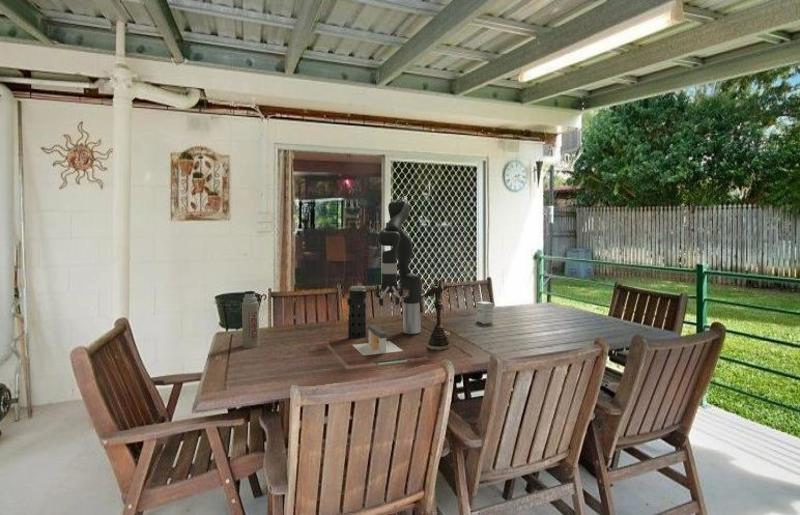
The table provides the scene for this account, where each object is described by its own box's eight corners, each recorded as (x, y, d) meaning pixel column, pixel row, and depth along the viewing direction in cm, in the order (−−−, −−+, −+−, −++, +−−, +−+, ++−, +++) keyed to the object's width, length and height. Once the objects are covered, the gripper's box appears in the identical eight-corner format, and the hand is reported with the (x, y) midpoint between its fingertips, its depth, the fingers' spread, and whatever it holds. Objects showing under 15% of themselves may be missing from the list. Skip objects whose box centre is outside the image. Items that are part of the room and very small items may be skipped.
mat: (399, 356, 217) (399, 354, 217) (407, 362, 208) (407, 360, 208) (371, 359, 212) (371, 357, 212) (378, 365, 203) (378, 363, 203)
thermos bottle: (260, 346, 233) (259, 291, 231) (244, 348, 229) (242, 293, 227) (257, 342, 240) (256, 289, 238) (241, 344, 236) (240, 290, 234)
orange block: (379, 346, 229) (379, 332, 228) (385, 350, 222) (385, 335, 221) (371, 347, 227) (371, 333, 226) (376, 351, 220) (376, 336, 220)
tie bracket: (389, 343, 238) (389, 327, 238) (403, 353, 221) (403, 336, 220) (352, 347, 231) (352, 331, 230) (363, 358, 213) (363, 340, 213)
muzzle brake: (349, 340, 245) (368, 339, 248) (348, 288, 243) (368, 287, 246) (346, 336, 254) (364, 334, 257) (345, 285, 252) (364, 285, 255)
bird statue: (414, 344, 238) (414, 276, 235) (434, 340, 245) (434, 275, 243) (433, 351, 225) (434, 280, 222) (454, 347, 232) (455, 278, 229)
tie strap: (373, 328, 235) (373, 324, 234) (386, 337, 217) (386, 333, 217) (368, 329, 233) (368, 325, 233) (380, 338, 216) (380, 333, 216)
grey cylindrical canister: (476, 321, 290) (476, 301, 289) (486, 320, 294) (486, 301, 292) (483, 324, 284) (483, 303, 283) (493, 322, 287) (493, 302, 286)
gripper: (400, 271, 231) (399, 303, 233) (373, 272, 226) (372, 305, 227) (405, 272, 224) (405, 305, 226) (377, 273, 219) (377, 307, 220)
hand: (389, 305), depth 226 cm, fingers open, 7 cm apart
